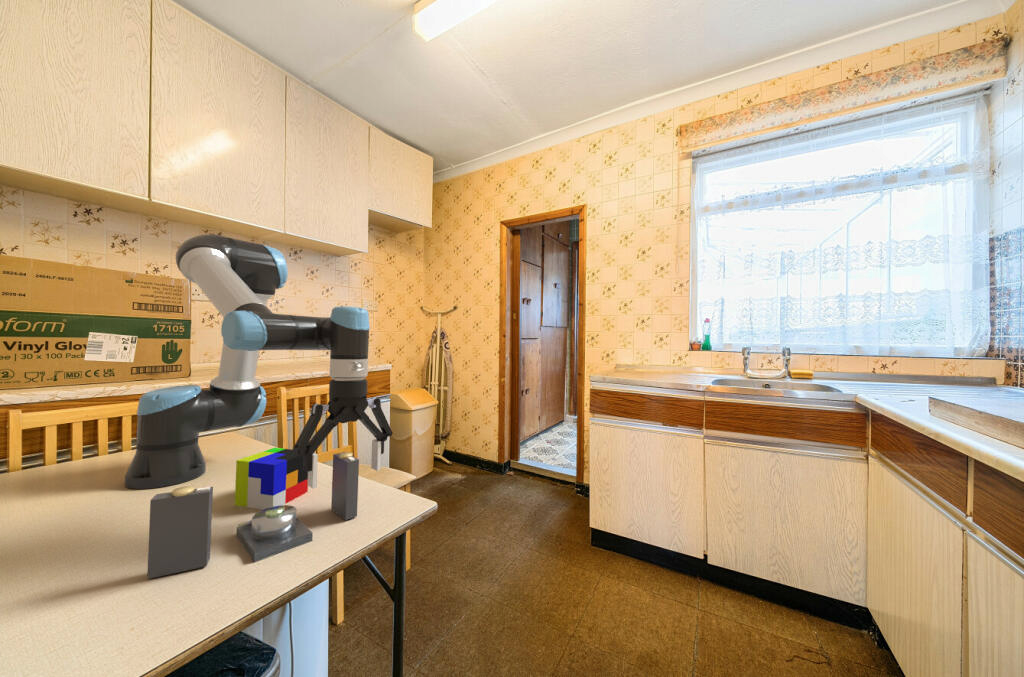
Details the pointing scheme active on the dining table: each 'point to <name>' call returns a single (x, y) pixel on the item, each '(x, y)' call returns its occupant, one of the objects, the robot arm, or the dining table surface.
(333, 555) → the dining table surface
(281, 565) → the dining table surface
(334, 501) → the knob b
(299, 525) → the levelling plate
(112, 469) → the dining table surface
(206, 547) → the dark grey flat block
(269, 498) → the puzzle toy
